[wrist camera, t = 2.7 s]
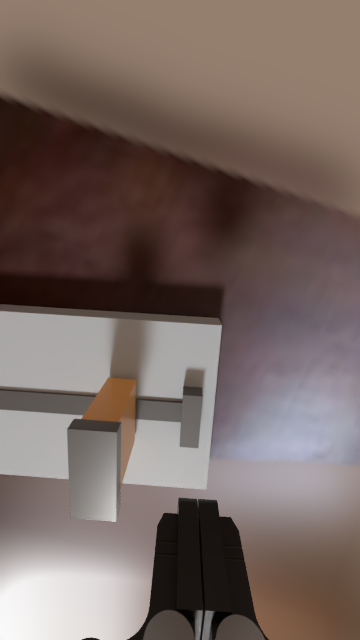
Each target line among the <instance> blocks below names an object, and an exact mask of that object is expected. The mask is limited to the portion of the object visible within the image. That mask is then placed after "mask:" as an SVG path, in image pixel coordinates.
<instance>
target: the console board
mask: <svg viewBox="0 0 360 640" xmlns="http://www.w3.org/2000/svg"><path fill="white" fill-rule="evenodd" d="M221 329H222V325H221V322H220V320H219V318H209V317H193V316H178V315H162V314H146V313H131V312H115V311H99V310H84V309H68V308H53V307H37V306H21V305H6V304H0V474H8V475H21V476H34V477H47V478H60V479H69V471H68V444H67V428H68V427H69V425H70V424H71V422H72V421H73V420H74V419H81V418H82V417H83V415H84V414H85V412H86V411H87V409H88V408H89V406H90V404H91V403H92V401H93V400H94V398H95V397H96V395H97V394H98V392H99V391H100V389H101V388H102V386H103V385H104V383H105V382H106V380H107V379H108V377H110V378H124V379H136V416H135V441H134V445H133V448H132V452H131V455H130V458H129V462H128V465H127V469H126V472H125V475H124V479H123V482H122V483H127V484H139V485H154V486H167V487H179V488H193V489H206V487H207V476H208V466H209V456H210V445H211V435H212V424H213V413H214V403H215V392H216V382H217V371H218V361H219V350H220V340H221Z"/></svg>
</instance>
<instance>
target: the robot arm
mask: <svg viewBox="0 0 360 640" xmlns="http://www.w3.org/2000/svg"><path fill="white" fill-rule="evenodd" d="M82 640H99V639H96V638H86V639H82ZM128 640H268V638H267V637H266V636H265V635H264V633H263V631H262V630H261V628H260V626H259V624H258V622H257V619H256V616H255V612H254V607H253V602H252V596H251V591H250V586H249V581H248V576H247V571H246V566H245V562H244V556H243V551H242V545H241V540H240V536H239V530H238V529H237V527H236V525H235V524H234V522H233V521H232V519H231V517H219V511H218V503H217V500H205V499H198V503H197V499H189V498H179V499H178V512H177V514H172V513H164V514H163V516H162V518H161V520H160V522H159V524H158V526H157V537H156V547H155V557H154V567H153V578H152V589H151V598H150V607H149V613H148V616H147V618H146V621H145V623H144V624H143V626H142V627H141V629H140V630H139V631H138V632H137V633H136V634H135V635H134V636H132V637H131V638H130V639H128Z"/></svg>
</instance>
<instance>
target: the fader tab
mask: <svg viewBox="0 0 360 640" xmlns="http://www.w3.org/2000/svg"><path fill="white" fill-rule="evenodd" d="M135 416H136V379H124V378H110V377H108V379H107V380H106V382H105V383H104V385H103V386H102V388H101V389H100V391H99V392H98V394H97V395H96V397H95V398H94V400H93V401H92V403H91V404H90V406H89V408H88V409H87V411H86V412H85V414H84V415H83V417H82V418H81V419H74V420H73V421H72V422H71V424H70V425H69V427H68V428H67V444H68V471H69V498H70V518H75V519H88V520H101V521H113V522H116V520H117V516H118V513H119V510H120V489H121V486H122V482H123V479H124V475H125V472H126V469H127V465H128V462H129V458H130V455H131V452H132V448H133V445H134V441H135Z"/></svg>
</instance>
